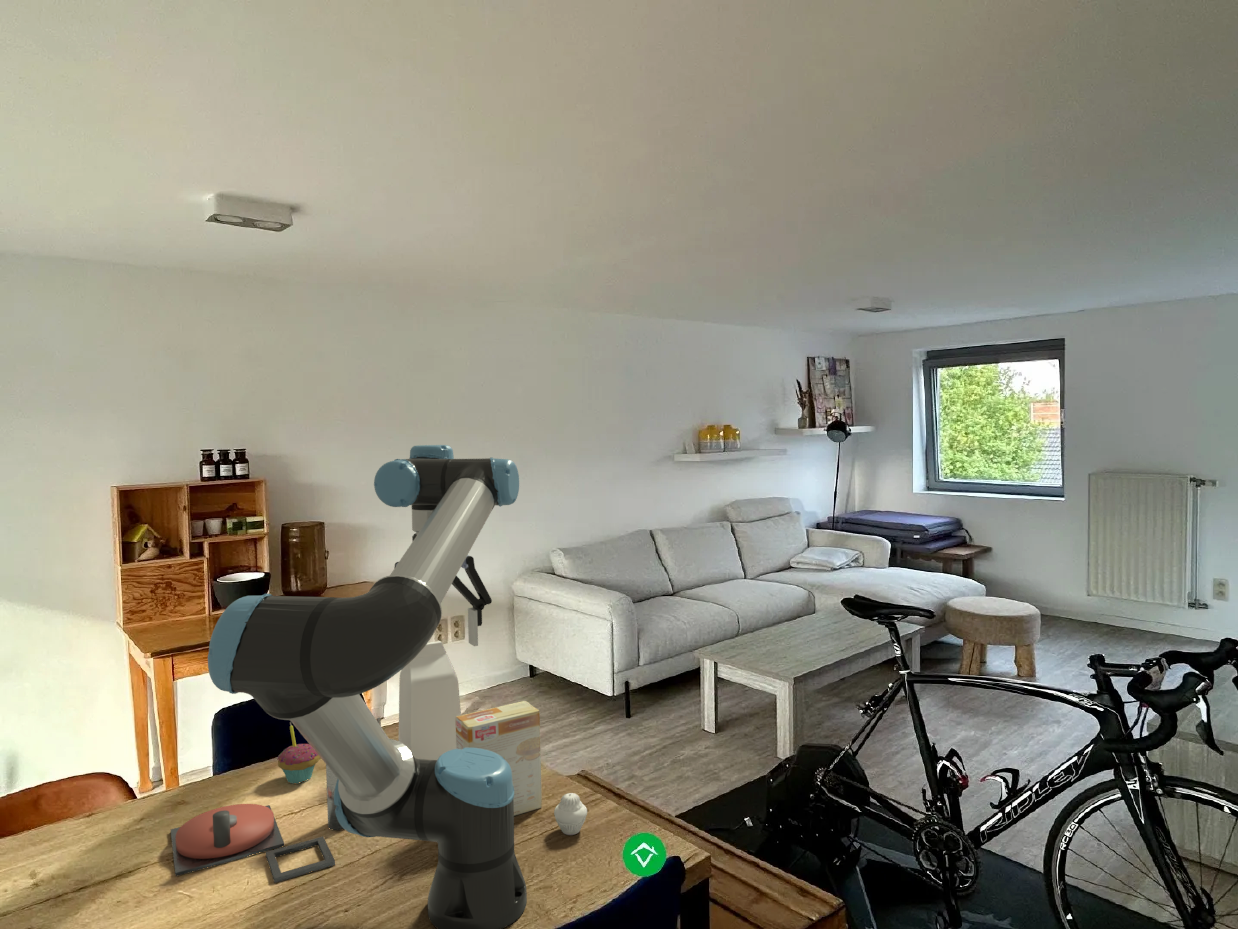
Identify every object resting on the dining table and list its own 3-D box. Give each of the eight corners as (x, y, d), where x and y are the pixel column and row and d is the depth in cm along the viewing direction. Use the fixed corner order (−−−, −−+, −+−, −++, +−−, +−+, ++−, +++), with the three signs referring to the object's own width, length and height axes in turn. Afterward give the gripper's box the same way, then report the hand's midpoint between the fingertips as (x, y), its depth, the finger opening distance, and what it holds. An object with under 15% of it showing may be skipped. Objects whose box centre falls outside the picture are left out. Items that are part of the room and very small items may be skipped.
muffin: (547, 834, 144) (546, 796, 144) (566, 819, 150) (565, 783, 149) (575, 843, 141) (575, 804, 141) (594, 827, 146) (593, 790, 146)
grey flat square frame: (335, 865, 135) (335, 860, 135) (274, 883, 130) (274, 878, 130) (323, 840, 143) (323, 836, 143) (265, 856, 138) (265, 852, 138)
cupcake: (269, 785, 166) (267, 728, 165) (296, 767, 174) (294, 714, 173) (303, 790, 163) (301, 733, 163) (330, 772, 171) (328, 718, 171)
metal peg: (359, 826, 148) (357, 753, 147) (329, 834, 145) (327, 759, 145) (352, 814, 153) (350, 743, 152) (323, 821, 150) (321, 749, 149)
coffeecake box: (527, 794, 160) (525, 699, 159) (543, 808, 154) (541, 710, 153) (456, 814, 152) (454, 715, 151) (470, 830, 146) (468, 727, 145)
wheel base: (284, 846, 141) (284, 843, 141) (175, 876, 132) (175, 873, 132) (269, 808, 156) (269, 805, 156) (170, 832, 147) (170, 829, 147)
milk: (410, 772, 171) (407, 654, 169) (398, 753, 181) (394, 641, 179) (464, 760, 176) (461, 645, 175) (449, 742, 186) (446, 634, 185)
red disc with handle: (182, 823, 148) (181, 786, 148) (275, 806, 154) (274, 771, 154) (169, 868, 133) (167, 827, 133) (272, 847, 139) (271, 808, 139)
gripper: (491, 524, 150) (494, 634, 151) (356, 535, 136) (360, 657, 138) (507, 528, 143) (510, 644, 144) (367, 541, 130) (371, 668, 131)
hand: (437, 650), depth 141 cm, fingers open, 13 cm apart
